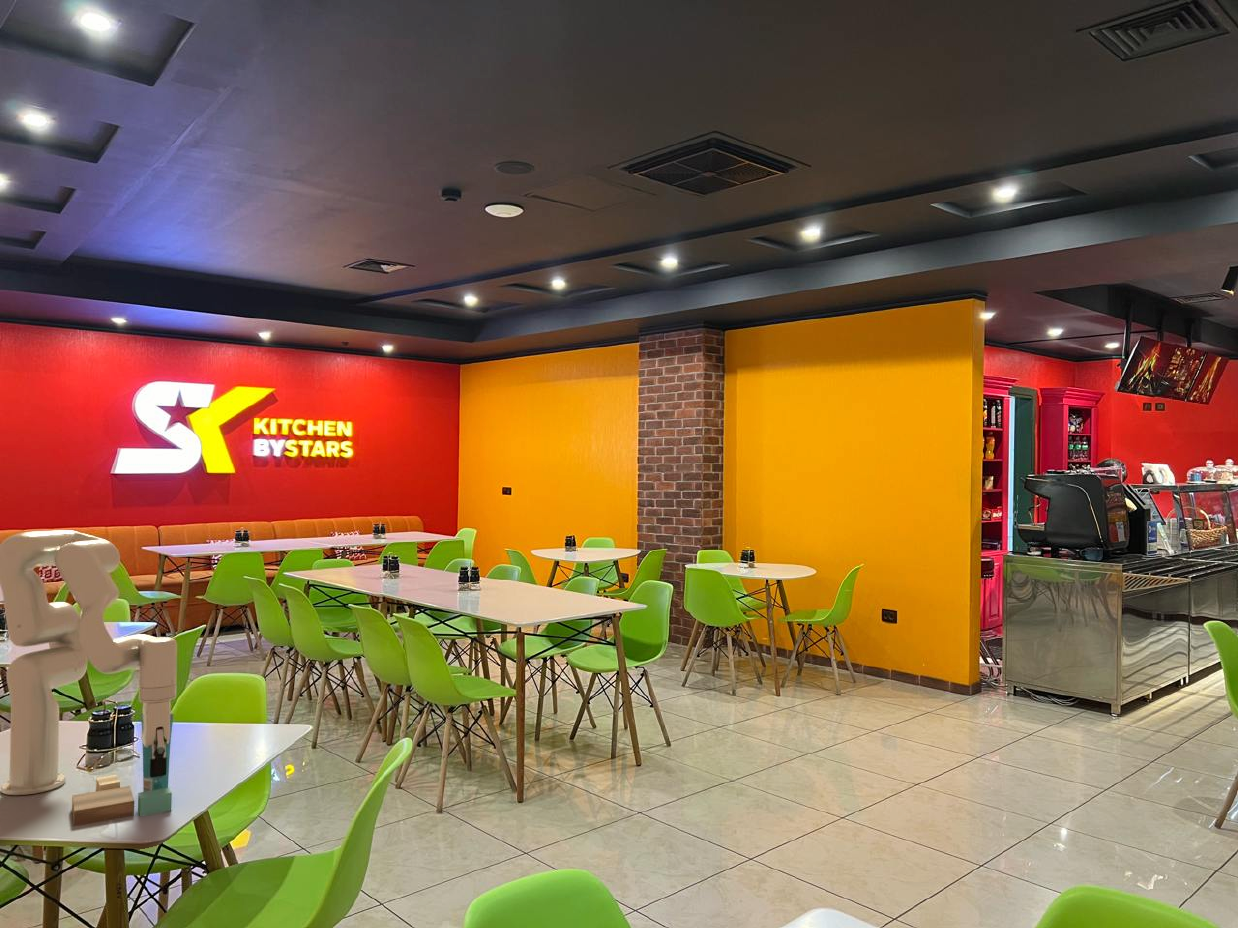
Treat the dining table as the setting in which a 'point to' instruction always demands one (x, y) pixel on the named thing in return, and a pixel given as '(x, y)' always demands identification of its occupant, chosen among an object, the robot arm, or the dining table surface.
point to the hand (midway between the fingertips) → (156, 770)
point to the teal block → (154, 801)
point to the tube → (149, 782)
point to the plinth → (102, 805)
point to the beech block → (107, 783)
